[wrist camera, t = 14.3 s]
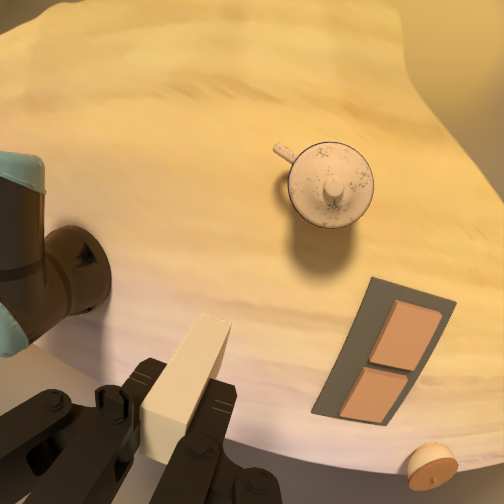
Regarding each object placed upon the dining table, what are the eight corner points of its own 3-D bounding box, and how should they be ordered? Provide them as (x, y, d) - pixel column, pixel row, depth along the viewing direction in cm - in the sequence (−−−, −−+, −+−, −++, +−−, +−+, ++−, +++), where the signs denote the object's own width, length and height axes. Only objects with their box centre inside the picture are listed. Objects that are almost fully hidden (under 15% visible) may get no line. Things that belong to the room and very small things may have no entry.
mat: (311, 410, 50) (311, 412, 50) (371, 276, 43) (372, 278, 42) (385, 423, 49) (386, 425, 49) (455, 301, 41) (456, 303, 41)
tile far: (339, 416, 47) (380, 422, 47) (364, 371, 44) (407, 380, 44) (339, 410, 49) (379, 416, 48) (363, 366, 46) (405, 374, 45)
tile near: (369, 361, 44) (413, 370, 43) (397, 303, 41) (442, 315, 40) (368, 355, 45) (411, 365, 45) (394, 298, 42) (438, 311, 42)
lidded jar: (393, 456, 52) (400, 490, 43) (434, 428, 48) (446, 461, 39) (418, 470, 52) (425, 500, 43) (456, 444, 49) (468, 474, 40)
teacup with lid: (373, 174, 39) (398, 178, 28) (333, 229, 42) (343, 253, 31) (297, 119, 39) (295, 103, 27) (258, 176, 41) (242, 181, 30)
